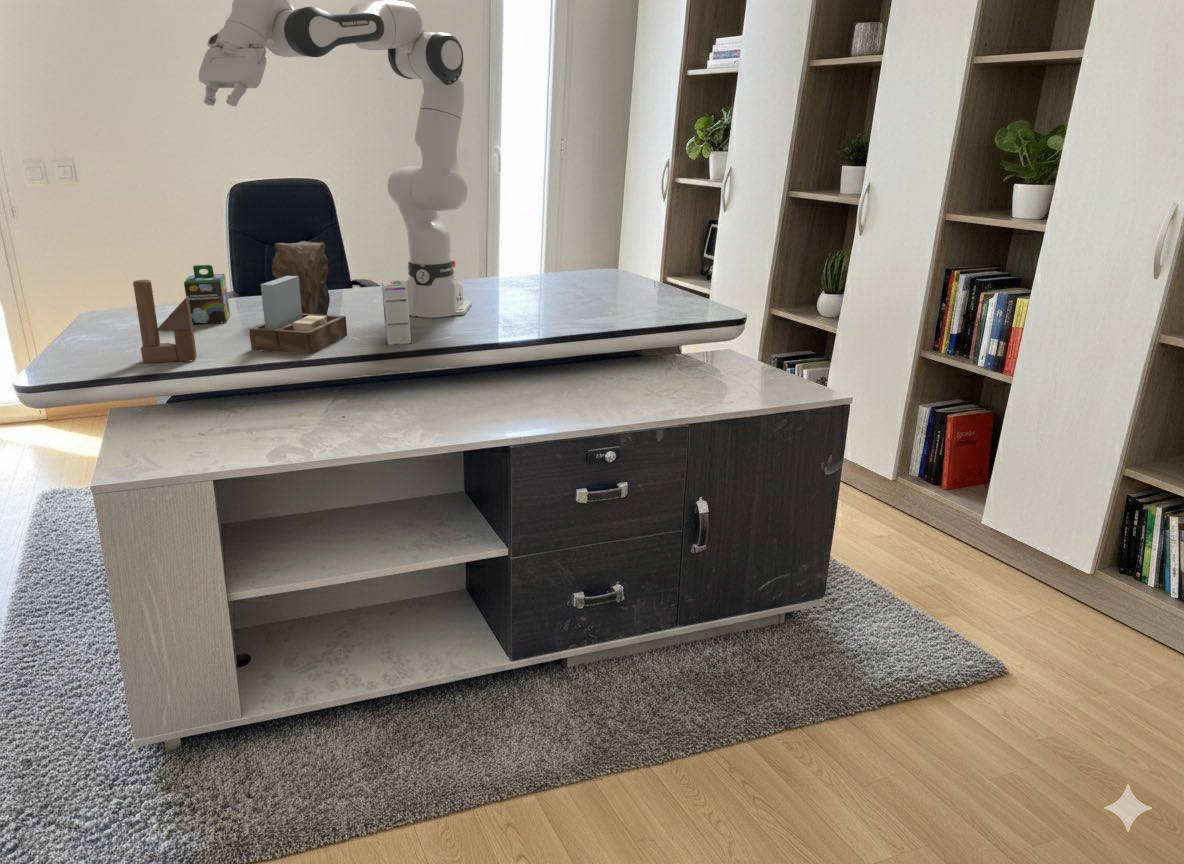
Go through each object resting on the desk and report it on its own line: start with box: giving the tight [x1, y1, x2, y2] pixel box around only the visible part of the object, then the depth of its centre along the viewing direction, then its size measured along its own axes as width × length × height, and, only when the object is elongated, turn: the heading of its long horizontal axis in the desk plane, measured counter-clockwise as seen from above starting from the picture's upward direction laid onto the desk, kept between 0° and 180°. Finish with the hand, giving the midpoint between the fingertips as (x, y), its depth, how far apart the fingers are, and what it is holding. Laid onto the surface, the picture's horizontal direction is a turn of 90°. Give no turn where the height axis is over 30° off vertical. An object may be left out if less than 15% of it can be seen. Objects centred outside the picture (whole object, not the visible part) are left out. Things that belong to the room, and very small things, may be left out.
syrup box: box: [381, 280, 412, 346], centre depth 224 cm, size 6×6×14 cm
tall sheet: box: [260, 276, 302, 329], centre depth 223 cm, size 12×3×15 cm, turn 168°
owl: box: [271, 240, 331, 315], centre depth 247 cm, size 13×13×20 cm
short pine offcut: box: [293, 315, 327, 332], centre depth 222 cm, size 8×5×2 cm, turn 169°
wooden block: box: [132, 279, 197, 364], centre depth 205 cm, size 4×11×18 cm, turn 105°
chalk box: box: [183, 264, 231, 324], centre depth 243 cm, size 9×9×15 cm
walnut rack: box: [248, 314, 348, 355], centre depth 224 cm, size 18×15×5 cm
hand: (219, 104), depth 200 cm, fingers open, 8 cm apart
